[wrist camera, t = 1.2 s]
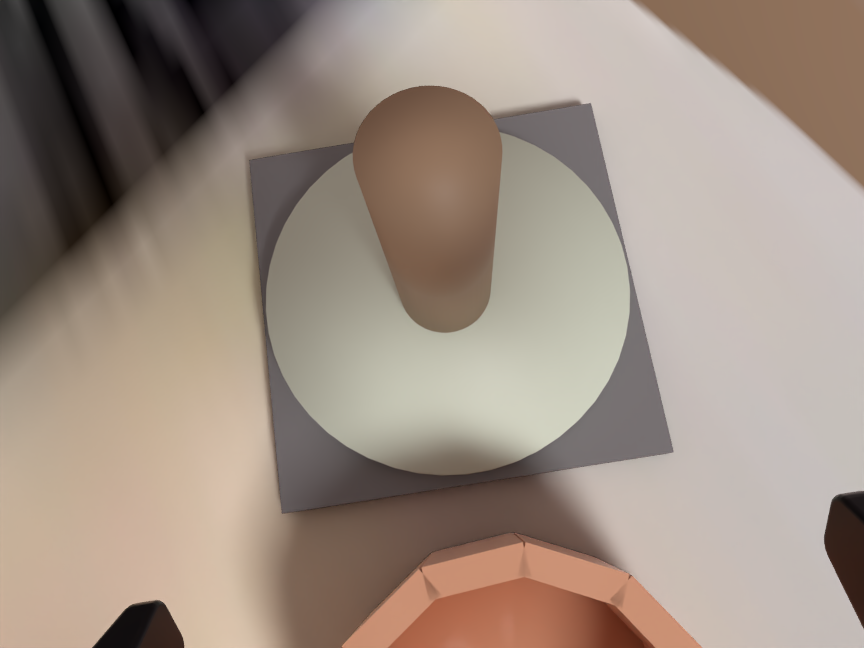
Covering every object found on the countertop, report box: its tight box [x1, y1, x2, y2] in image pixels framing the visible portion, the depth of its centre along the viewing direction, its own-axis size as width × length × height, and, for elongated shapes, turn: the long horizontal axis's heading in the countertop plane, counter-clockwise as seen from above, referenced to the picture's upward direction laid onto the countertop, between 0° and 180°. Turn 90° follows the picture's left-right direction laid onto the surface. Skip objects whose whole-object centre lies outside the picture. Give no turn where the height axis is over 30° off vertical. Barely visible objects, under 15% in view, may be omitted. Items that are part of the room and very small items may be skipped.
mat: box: [249, 103, 673, 513], centre depth 24 cm, size 13×13×1 cm
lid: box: [266, 86, 630, 476], centre depth 19 cm, size 12×12×10 cm
